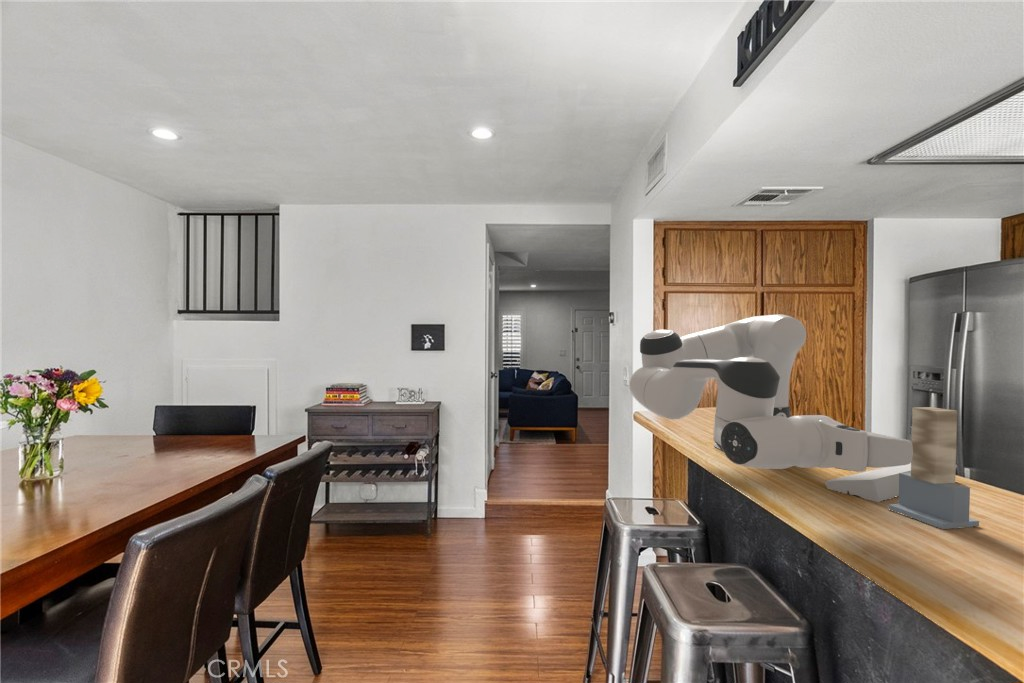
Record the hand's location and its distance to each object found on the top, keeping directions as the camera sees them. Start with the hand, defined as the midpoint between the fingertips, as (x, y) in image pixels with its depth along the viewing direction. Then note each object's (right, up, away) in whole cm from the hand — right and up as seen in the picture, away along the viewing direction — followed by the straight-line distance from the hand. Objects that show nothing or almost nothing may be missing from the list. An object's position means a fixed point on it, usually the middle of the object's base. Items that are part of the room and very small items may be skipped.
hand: (882, 439), depth 91 cm
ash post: (+11, -8, +3) cm, 14 cm away
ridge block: (+11, -15, +3) cm, 19 cm away
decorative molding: (+20, -16, +25) cm, 35 cm away
